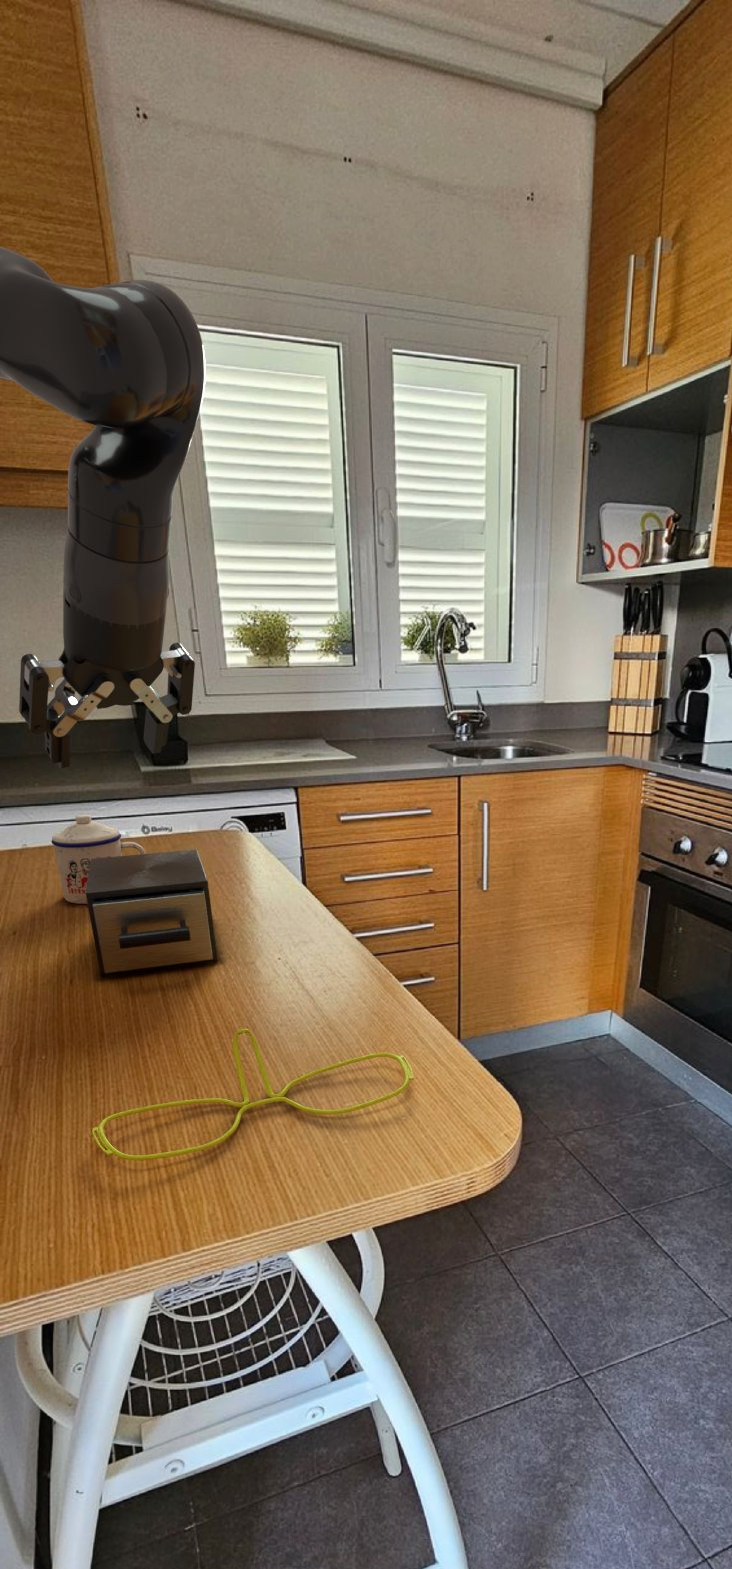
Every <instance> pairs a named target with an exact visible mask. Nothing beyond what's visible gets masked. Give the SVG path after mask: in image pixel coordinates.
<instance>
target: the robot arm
mask: <svg viewBox="0 0 732 1569" xmlns="http://www.w3.org/2000/svg"><path fill="white" fill-rule="evenodd" d="M204 349H205V348H204V344H203V338H202V335H201V332H200V329H199V326H198V324H197V322H196V319H195V318H194V315H193V313H192V311H191V310H190V308H189V307H188V305H187V304H186V303H185V302H184V300H183V299H182V298H181V297H180V295H178V294H177V293H176V292H175V291H174V290H172V289H171V288H169V287H167V286H166V285H164V284H162V283H160V282H157V281H152V280H148V279H134V280H133V279H132V280H126V281H122V282H115V283H111V284H110V283H109V284H104V285H99V286H91V287H82V286H81V287H80V286H74V285H69V284H68V285H67V284H62V283H59V282H55V281H54V280H53V279H52V277H51V276H50V275H49V273H47V271H45V269H43V267H42V266H40V265H39V264H38V263H37V262H35V261H34V260H32V259H30V258H29V257H27V256H25V255H23V254H21V253H18V252H17V251H14V250H11V249H9V248H6V247H3V246H0V379H2V380H6V381H9V382H14V383H16V384H17V385H19V386H20V387H22V388H23V389H24V390H26V392H28V393H29V394H31V395H33V396H35V397H36V398H38V399H40V400H42V401H43V402H45V403H47V404H48V405H50V406H51V407H53V408H55V409H57V410H58V411H60V412H62V413H64V414H65V415H67V416H69V417H71V418H74V419H76V420H78V421H80V422H83V423H86V424H89V425H94V427H93V429H92V430H91V431H90V432H89V433H88V434H87V435H86V436H85V437H83V439H82V440H81V441H80V442H79V443H78V444H77V445H76V446H75V447H74V449H73V451H72V453H71V455H70V458H69V463H68V471H67V472H68V473H67V528H66V536H65V543H64V549H63V575H62V576H63V578H62V579H63V580H62V582H63V584H62V585H63V586H62V588H63V591H62V598H63V601H62V604H63V606H62V608H63V609H62V637H63V650H62V653H61V654H60V655H59V657H58V659H53V660H51V659H50V660H39V659H38V658H37V656H36V655H35V654H32V653H26V654H24V655H22V657H21V659H20V675H19V676H20V677H19V703H18V704H19V705H18V712H19V714H20V715H21V717H22V718H23V720H24V721H25V723H26V724H27V726H28V729H29V730H30V732H31V733H33V734H34V735H40V734H43V733H44V749H45V752H46V753H47V755H48V756H49V758H50V759H51V761H52V763H53V764H57V766H58V767H59V768H60V769H65V768H70V765H71V764H70V763H71V762H70V759H71V757H70V756H71V755H70V754H71V753H70V752H71V736H70V734H69V732H70V731H71V729H72V728H73V727H74V726H75V725H76V723H77V722H78V721H81V722H82V721H85V720H86V719H87V718H88V717H89V715H91V713H92V712H93V711H94V710H95V708H96V709H97V710H102V709H107V708H111V707H113V706H114V707H115V706H122V707H127V706H133V705H134V702H136V701H138V700H139V699H140V701H142V702H143V704H144V705H145V706H146V708H145V717H144V718H145V719H144V729H143V741H144V744H145V746H146V747H147V749H148V750H149V751H150V752H151V754H153V755H154V754H159V753H161V752H162V748H163V747H165V746H166V744H167V742H168V736H169V735H168V734H169V726H170V722H171V721H172V720H173V718H174V716H175V715H178V714H180V715H183V716H185V715H189V714H190V713H191V711H192V708H193V696H194V695H193V694H194V684H195V682H194V681H195V680H194V679H195V666H196V663H195V660H194V659H193V658H192V657H191V656H190V654H189V652H188V651H187V650H186V649H185V647H184V646H183V645H182V643H180V642H173V643H172V644H171V645H170V646H169V647H168V648H169V649H168V650H165V651H163V646H164V634H165V626H166V618H167V617H166V616H167V605H168V598H169V596H170V588H169V587H170V558H169V557H170V544H171V533H172V523H173V513H174V494H175V490H176V488H177V484H178V481H179V477H180V475H181V472H182V470H183V467H184V465H185V462H186V459H187V457H188V452H189V450H190V446H191V442H192V439H193V436H194V433H195V430H196V427H197V423H198V420H199V416H200V412H201V408H202V403H203V399H204V393H205V385H206V358H205V350H204ZM164 670H166V672H167V691H166V692H167V693H166V694H165V695H162V696H160V695H159V694H158V693H157V692H156V690H154V688H153V687H152V685H153V684H154V682H155V681H156V680H157V679H158V677H159V676H160V675H161V674H162V673H163V671H164ZM59 678H63V679H62V680H61V681H60V683H59V684H58V685H57V686H56V688H55V687H54V686H55V683H56V681H57V680H59ZM53 691H54V696H53V698H52V699H51V700H50V701H49V692H53ZM76 693H77V694H78V695H79V696H80V699H78V700H77V699H76V695H75V694H76ZM48 701H49V702H48Z"/></svg>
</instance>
